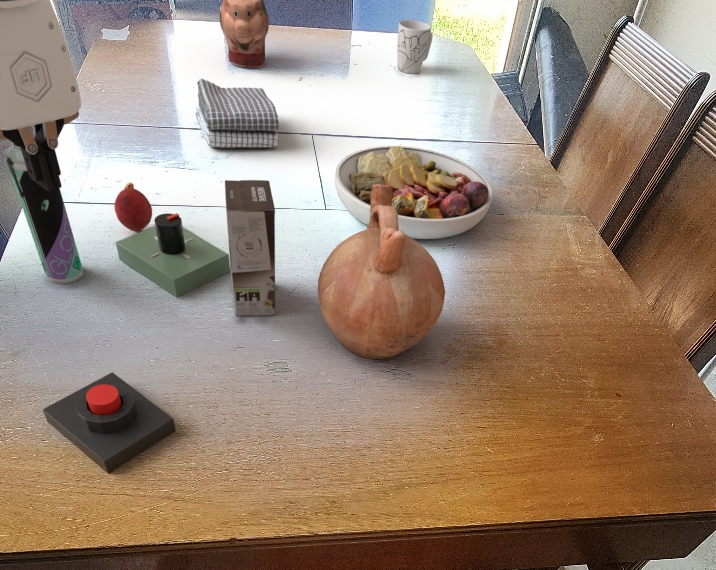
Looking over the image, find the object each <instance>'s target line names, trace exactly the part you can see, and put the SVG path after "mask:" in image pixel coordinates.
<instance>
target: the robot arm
mask: <svg viewBox="0 0 716 570" xmlns="http://www.w3.org/2000/svg"><path fill="white" fill-rule="evenodd" d="M81 107H82V98H81V94H80V89H79V84H78V80H77V76H76V73H75V69H74V66H73V62H72V58H71V55H70V52H69V48H68V46H67V42H66V40H65V36H64V33H63V31H62V27H61V25H60V22H59V20H58V17H57V14H56V11H55V9H54V7H53V3H52V2H51V0H0V141H3V140H9V141H10V142H11V143H12V142H13V143H15V144H16V145H18V146H19V147H20V148H21V151H22V155H23V158H24V161H25V165H26V168H27V171H28V174H29V176H30V178H31V179H32V180H33V181H34V182H36V183H37V184H39V185H40V186H41V187H43V188H44V189H46V190H47V191H51V190H53V188H60V189H61V188H62V187H63V185H62V182H61V178H60V176H61V174H62V171H61V168H60V164H59V160H58V157H57V152H56V149H57V148H58V146H59V136H60V134H61V133H62V130H63V129H64V127H65V125H68V124H69V123H71V122H73V121H75V120H76V119H78V118H79V117H80V109H81ZM30 127H32V130H31V128H30Z"/></svg>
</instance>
